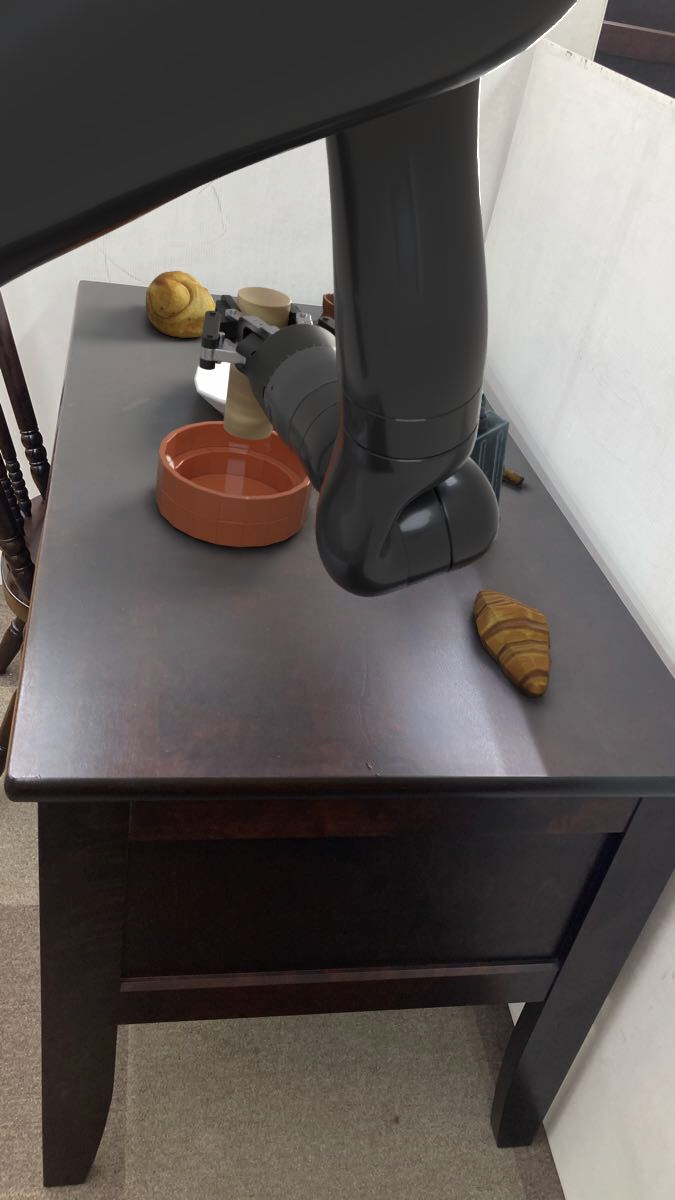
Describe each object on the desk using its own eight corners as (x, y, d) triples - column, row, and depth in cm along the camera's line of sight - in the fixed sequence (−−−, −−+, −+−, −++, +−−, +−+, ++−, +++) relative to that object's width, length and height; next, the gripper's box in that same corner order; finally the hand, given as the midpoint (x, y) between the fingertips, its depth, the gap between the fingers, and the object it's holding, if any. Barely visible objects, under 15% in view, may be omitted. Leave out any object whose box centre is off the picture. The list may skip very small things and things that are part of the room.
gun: (377, 434, 79) (499, 374, 85) (377, 569, 92) (483, 508, 98) (397, 448, 78) (519, 386, 84) (394, 583, 90) (501, 521, 96)
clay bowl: (173, 556, 83) (178, 501, 79) (142, 472, 94) (145, 421, 90) (325, 547, 89) (336, 496, 85) (279, 469, 99) (287, 420, 96)
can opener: (523, 484, 107) (526, 476, 106) (513, 490, 105) (516, 481, 105) (461, 452, 111) (464, 444, 110) (451, 458, 109) (454, 449, 109)
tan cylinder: (230, 440, 78) (245, 305, 71) (217, 417, 81) (231, 285, 74) (278, 440, 79) (298, 307, 72) (264, 417, 82) (282, 288, 75)
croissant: (571, 702, 77) (591, 658, 74) (499, 705, 75) (517, 660, 72) (512, 604, 87) (528, 562, 84) (448, 604, 85) (461, 561, 82)
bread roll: (139, 305, 130) (142, 249, 126) (206, 310, 133) (211, 256, 129) (147, 340, 121) (150, 282, 116) (219, 346, 124) (224, 288, 119)
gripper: (417, 350, 64) (337, 268, 77) (224, 343, 59) (172, 256, 71) (395, 443, 69) (323, 351, 81) (214, 444, 63) (166, 346, 76)
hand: (252, 307), depth 76 cm, fingers closed on tan cylinder, 4 cm apart
